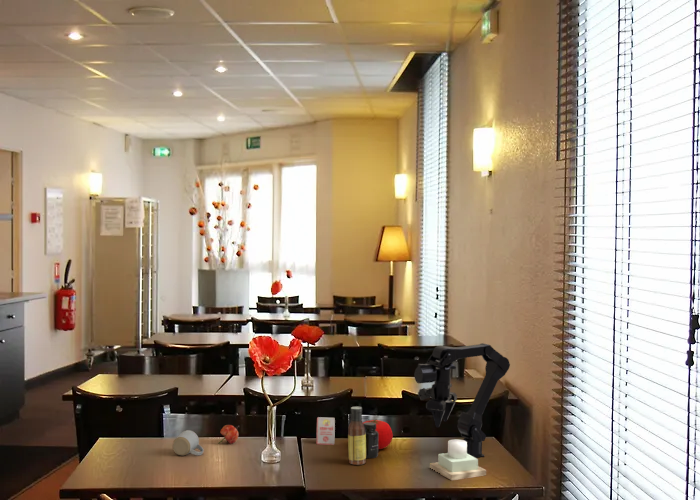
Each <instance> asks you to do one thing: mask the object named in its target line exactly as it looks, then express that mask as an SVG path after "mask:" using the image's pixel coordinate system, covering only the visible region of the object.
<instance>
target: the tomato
mask: <svg viewBox="0 0 700 500" xmlns="http://www.w3.org/2000/svg"><path fill="white" fill-rule="evenodd" d="M362 422H363V423H366V422H373V423H376V431H377V432H378V433H379V443H378V450H382V449H384V448H387V447H389V445H391V444H392V443H391V442H392V441H393V437H394V434H393V431H392V428H391V426H390V425H389V423H387V421H383V420H378V419H372V420H369V419H368V420H365V421H362Z"/></svg>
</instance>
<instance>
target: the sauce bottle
mask: <svg viewBox="0 0 700 500" xmlns="http://www.w3.org/2000/svg"><path fill="white" fill-rule="evenodd" d="M350 413H351V417H350V418H351V420H350V422H349V425H348V427H347V428H348V432H347V433H348V434H347V440H348V443H347V445H348V447H347V448H348V449H347V450H348V461H349V464H350V465H354V466H362V465H364V464H366V463H367V462H366V459H367V458H366V432H365V427H364V425H363V422H364V421H363V417H362V416H363V407H362V406H352V407H350Z"/></svg>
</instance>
